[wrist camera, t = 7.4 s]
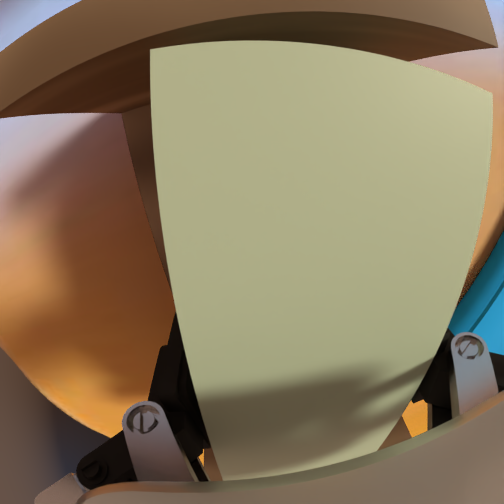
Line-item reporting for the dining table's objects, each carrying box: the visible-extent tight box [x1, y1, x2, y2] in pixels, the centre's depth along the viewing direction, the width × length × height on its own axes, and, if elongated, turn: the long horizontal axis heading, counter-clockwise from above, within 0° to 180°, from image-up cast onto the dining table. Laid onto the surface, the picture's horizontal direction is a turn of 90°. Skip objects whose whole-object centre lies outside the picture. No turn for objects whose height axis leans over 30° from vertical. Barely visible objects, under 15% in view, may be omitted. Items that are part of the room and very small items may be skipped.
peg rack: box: [0, 0, 498, 481], centre depth 13 cm, size 21×12×12 cm, turn 10°
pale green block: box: [150, 41, 493, 481], centre depth 9 cm, size 16×6×5 cm, turn 1°
